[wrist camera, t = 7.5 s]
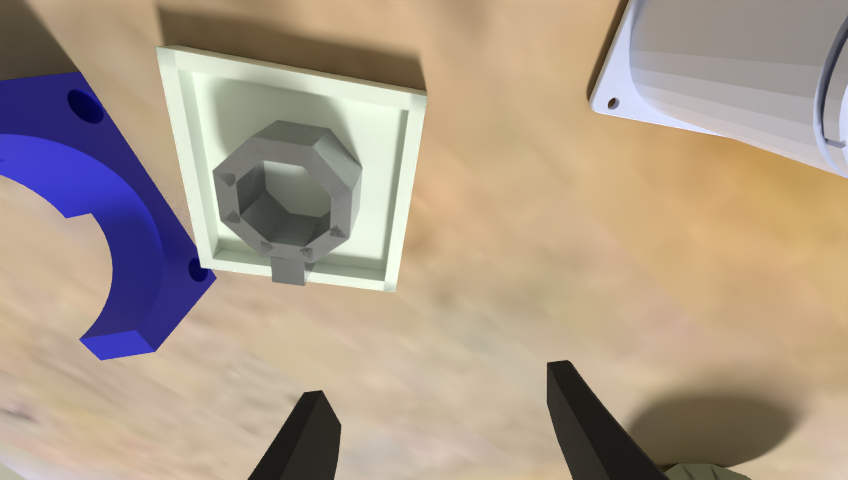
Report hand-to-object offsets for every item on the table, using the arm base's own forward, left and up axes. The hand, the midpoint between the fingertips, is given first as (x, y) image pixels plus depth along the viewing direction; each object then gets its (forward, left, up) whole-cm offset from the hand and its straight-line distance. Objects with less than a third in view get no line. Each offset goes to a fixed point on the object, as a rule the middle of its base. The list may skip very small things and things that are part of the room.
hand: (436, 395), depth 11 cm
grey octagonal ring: (+7, -2, -10) cm, 12 cm away
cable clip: (+17, +1, -11) cm, 20 cm away
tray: (+7, -2, -10) cm, 13 cm away
